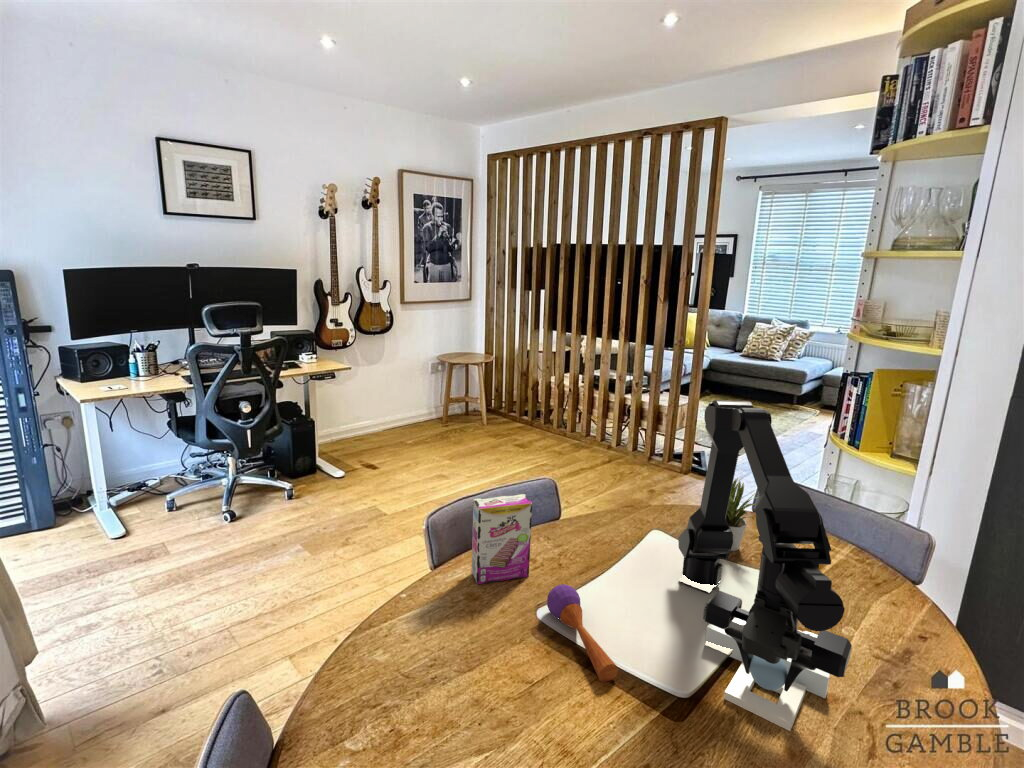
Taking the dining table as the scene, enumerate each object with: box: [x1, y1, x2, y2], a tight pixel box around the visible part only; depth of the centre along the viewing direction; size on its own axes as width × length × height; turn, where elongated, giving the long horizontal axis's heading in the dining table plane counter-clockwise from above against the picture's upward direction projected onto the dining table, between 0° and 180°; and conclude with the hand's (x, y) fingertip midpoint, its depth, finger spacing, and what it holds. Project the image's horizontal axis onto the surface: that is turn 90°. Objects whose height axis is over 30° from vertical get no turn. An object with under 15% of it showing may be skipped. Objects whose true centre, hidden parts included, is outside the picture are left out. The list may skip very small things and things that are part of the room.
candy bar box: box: [471, 493, 533, 585], centre depth 111 cm, size 11×5×16 cm, turn 108°
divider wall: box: [705, 623, 831, 699], centre depth 88 cm, size 18×1×4 cm, turn 51°
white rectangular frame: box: [723, 662, 807, 732], centre depth 82 cm, size 9×9×1 cm
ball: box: [750, 656, 787, 691], centre depth 81 cm, size 5×5×5 cm
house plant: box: [701, 476, 759, 552], centre depth 127 cm, size 14×14×16 cm
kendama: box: [546, 583, 619, 683], centre depth 93 cm, size 6×6×20 cm
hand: (766, 680), depth 82 cm, fingers closed on ball, 5 cm apart
